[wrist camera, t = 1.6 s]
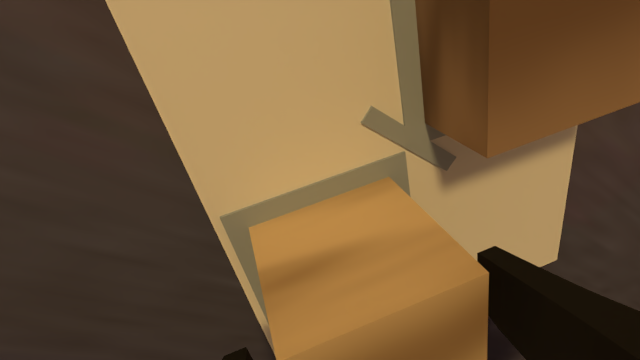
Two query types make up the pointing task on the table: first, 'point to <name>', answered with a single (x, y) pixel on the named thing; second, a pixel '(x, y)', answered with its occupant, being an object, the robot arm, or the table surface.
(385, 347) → the oak block
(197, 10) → the board
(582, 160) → the table surface
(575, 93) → the walnut block
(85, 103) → the table surface
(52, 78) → the table surface
